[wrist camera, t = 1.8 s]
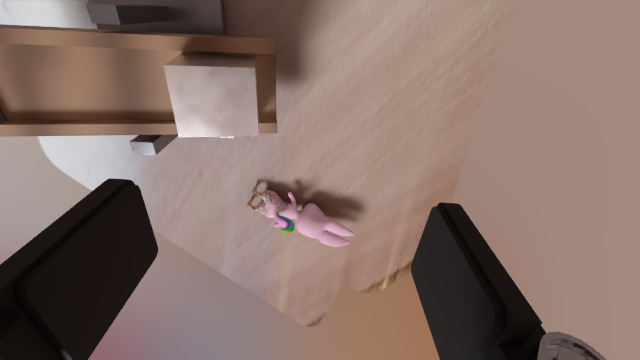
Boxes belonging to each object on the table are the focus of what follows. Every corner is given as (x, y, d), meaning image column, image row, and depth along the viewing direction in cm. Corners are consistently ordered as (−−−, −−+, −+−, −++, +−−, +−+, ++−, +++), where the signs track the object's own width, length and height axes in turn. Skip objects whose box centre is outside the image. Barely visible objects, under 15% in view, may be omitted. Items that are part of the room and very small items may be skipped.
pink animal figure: (250, 203, 41) (343, 245, 42) (232, 229, 35) (339, 276, 36) (263, 169, 38) (363, 215, 39) (246, 191, 32) (362, 244, 33)
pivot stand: (222, -6, 26) (184, -11, 19) (236, 134, 34) (213, 169, 26) (91, -15, 26) (2, -24, 19) (134, 128, 33) (82, 162, 26)
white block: (255, 56, 24) (254, 67, 20) (258, 115, 27) (258, 136, 23) (180, 54, 23) (163, 65, 19) (191, 115, 26) (178, 137, 22)
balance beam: (274, 38, 25) (275, 40, 23) (276, 125, 29) (277, 133, 27) (-46, 22, 20) (-76, 24, 19) (10, 126, 25) (-10, 136, 23)
